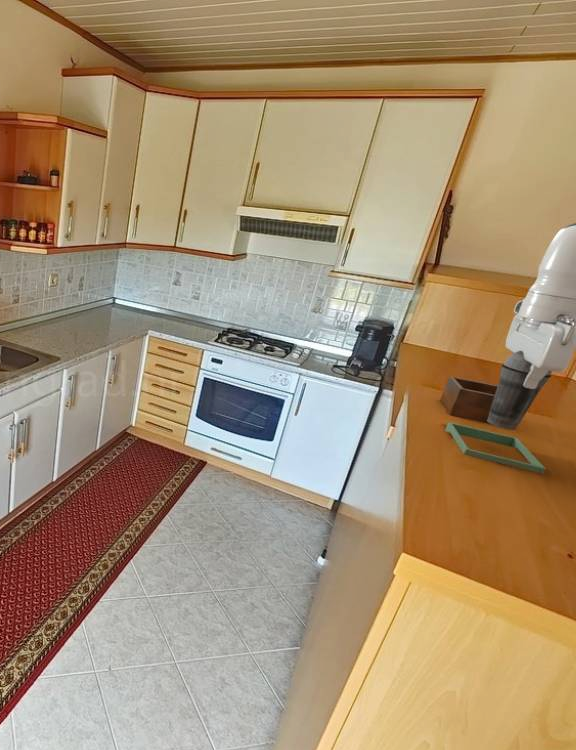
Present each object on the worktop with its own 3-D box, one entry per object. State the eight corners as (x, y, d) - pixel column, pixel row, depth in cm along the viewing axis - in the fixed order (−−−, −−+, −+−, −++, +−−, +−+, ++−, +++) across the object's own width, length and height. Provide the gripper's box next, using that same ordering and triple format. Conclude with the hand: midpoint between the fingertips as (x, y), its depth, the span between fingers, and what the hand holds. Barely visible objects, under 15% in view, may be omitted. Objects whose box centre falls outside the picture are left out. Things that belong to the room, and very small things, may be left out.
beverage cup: (480, 424, 97) (523, 326, 90) (476, 413, 102) (517, 321, 95) (527, 436, 93) (577, 335, 86) (521, 425, 99) (566, 329, 92)
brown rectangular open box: (497, 412, 127) (508, 387, 124) (513, 429, 116) (525, 402, 114) (439, 400, 132) (449, 375, 129) (449, 414, 121) (460, 388, 119)
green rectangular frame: (512, 448, 104) (517, 437, 104) (540, 480, 91) (546, 468, 90) (444, 432, 109) (448, 421, 108) (460, 460, 96) (465, 449, 95)
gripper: (602, 323, 80) (563, 401, 84) (553, 308, 97) (523, 373, 102) (553, 316, 82) (517, 392, 87) (513, 302, 100) (486, 366, 104)
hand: (520, 381), depth 95 cm, fingers closed on beverage cup, 6 cm apart
